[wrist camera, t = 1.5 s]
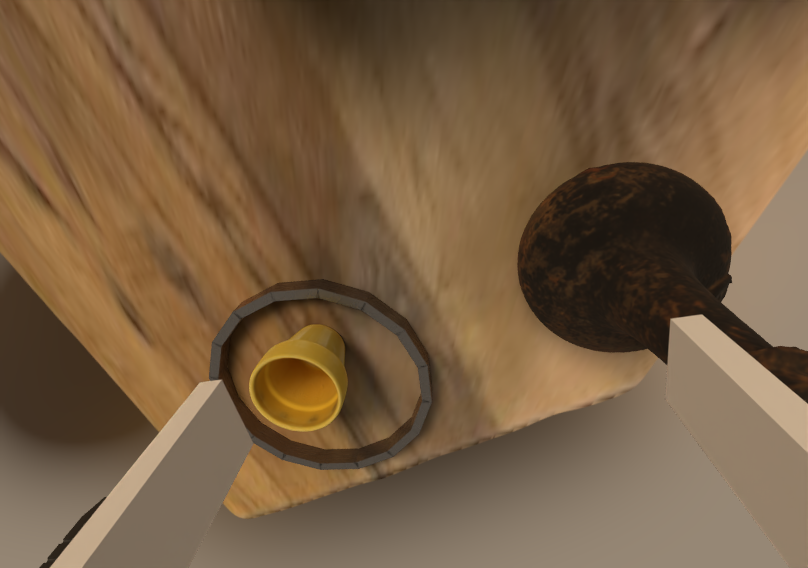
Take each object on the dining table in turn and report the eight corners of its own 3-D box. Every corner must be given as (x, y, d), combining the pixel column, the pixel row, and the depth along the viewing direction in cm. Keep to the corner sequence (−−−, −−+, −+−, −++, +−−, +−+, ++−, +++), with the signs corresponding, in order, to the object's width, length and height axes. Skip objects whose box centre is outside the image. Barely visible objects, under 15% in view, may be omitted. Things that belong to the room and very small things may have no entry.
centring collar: (185, 384, 57) (174, 396, 54) (288, 234, 46) (281, 241, 44) (350, 483, 63) (346, 497, 60) (475, 369, 52) (477, 381, 50)
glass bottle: (627, 329, 48) (838, 590, 23) (483, 287, 47) (537, 509, 22) (717, 183, 41) (1184, 330, 15) (548, 130, 40) (745, 191, 14)
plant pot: (266, 321, 51) (230, 368, 42) (341, 301, 49) (320, 346, 40) (299, 385, 55) (273, 440, 46) (370, 368, 53) (356, 423, 44)
